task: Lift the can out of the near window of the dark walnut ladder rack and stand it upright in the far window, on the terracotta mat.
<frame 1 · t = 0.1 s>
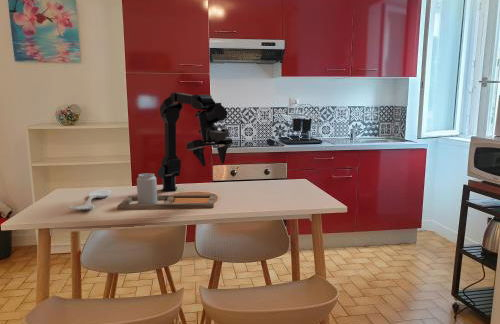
hand: (213, 165, 152), 15 cm above the table, tool pointing down, fingers open, 9 cm apart
can: (147, 204, 155), resting in ladder rack
spoon: (93, 204, 157), on the table
ladder rack: (169, 203, 155), on the table
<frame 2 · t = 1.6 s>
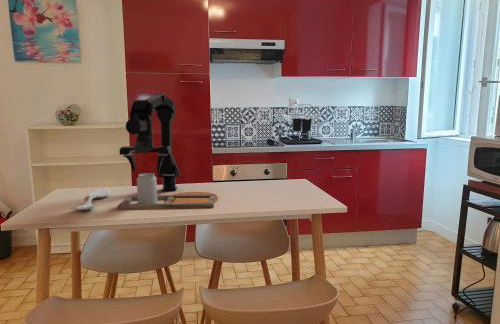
hand: (146, 172, 153), 13 cm above the table, tool pointing down, fingers open, 9 cm apart
nothing on the table moved.
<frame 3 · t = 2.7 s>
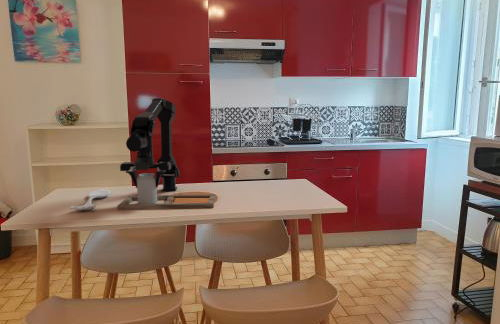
hand: (147, 187, 154), 7 cm above the table, tool pointing down, fingers closed on can, 7 cm apart
can: (147, 204, 155), resting in ladder rack, touching gripper
everything else where it was.
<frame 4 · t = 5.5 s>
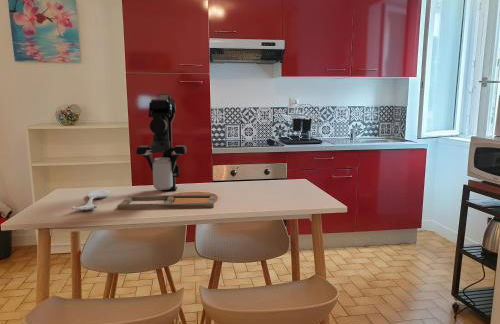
hand: (162, 171, 153), 13 cm above the table, tool pointing down, fingers closed on can, 7 cm apart
can: (163, 188, 154), point 6 cm above the table, touching gripper
everything else where it was.
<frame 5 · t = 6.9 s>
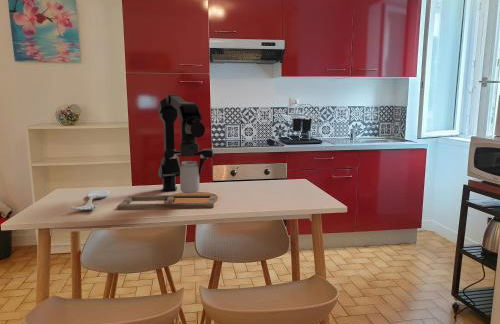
hand: (189, 174, 154), 11 cm above the table, tool pointing down, fingers closed on can, 7 cm apart
can: (190, 192, 155), point 4 cm above the table, touching gripper
everything else where it was.
when the fingers open (8 cm above the table, at t = 8.1 s): can drops 1 cm, resting on ladder rack.
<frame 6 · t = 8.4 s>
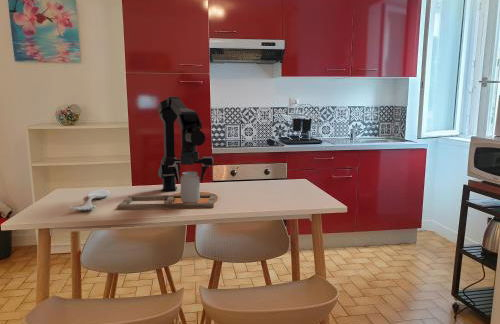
hand: (189, 182, 154), 8 cm above the table, tool pointing down, fingers open, 9 cm apart
can: (190, 202, 155), resting on ladder rack
everything else where it was.
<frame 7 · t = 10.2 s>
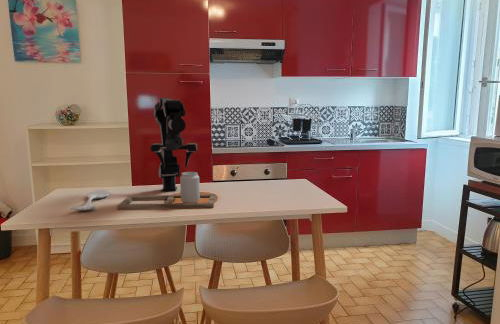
hand: (175, 167, 163), 13 cm above the table, tool pointing down, fingers open, 9 cm apart
nothing on the table moved.
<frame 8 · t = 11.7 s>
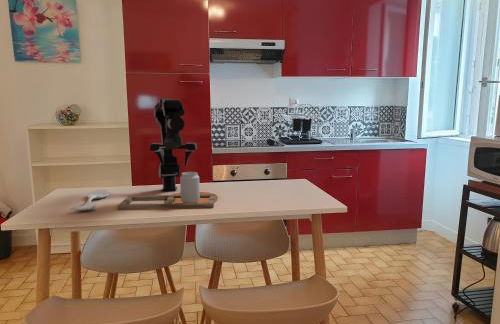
hand: (174, 167, 163), 13 cm above the table, tool pointing down, fingers open, 9 cm apart
nothing on the table moved.
at the end: can inside the target area on the ladder rack (0.0 cm from its centre), point 0.1 cm above the ladder rack's base; can tilted 0°; the gripper is holding nothing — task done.
